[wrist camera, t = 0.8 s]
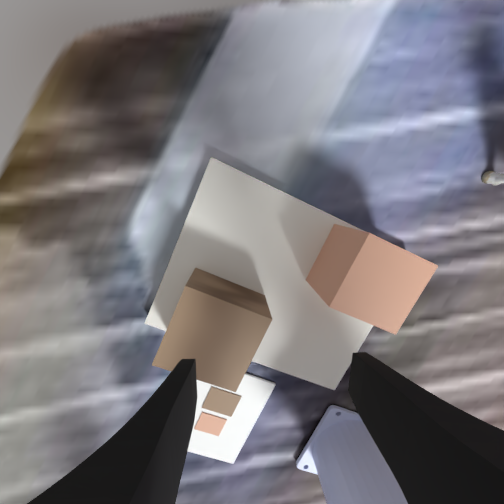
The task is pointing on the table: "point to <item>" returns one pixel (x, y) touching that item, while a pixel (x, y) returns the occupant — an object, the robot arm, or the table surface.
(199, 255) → the base plate
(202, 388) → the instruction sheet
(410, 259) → the terracotta block
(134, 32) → the table surface
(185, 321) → the walnut block
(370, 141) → the table surface
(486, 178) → the bull figurine
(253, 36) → the table surface
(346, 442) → the robot arm
